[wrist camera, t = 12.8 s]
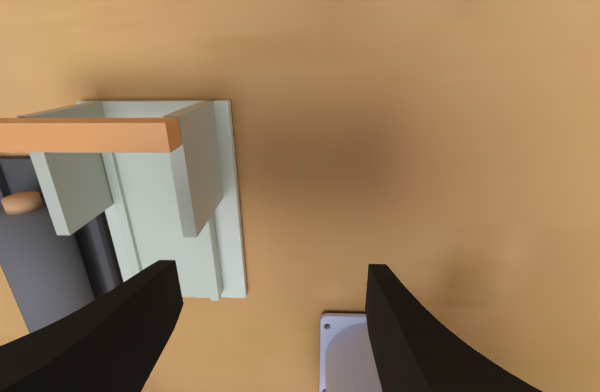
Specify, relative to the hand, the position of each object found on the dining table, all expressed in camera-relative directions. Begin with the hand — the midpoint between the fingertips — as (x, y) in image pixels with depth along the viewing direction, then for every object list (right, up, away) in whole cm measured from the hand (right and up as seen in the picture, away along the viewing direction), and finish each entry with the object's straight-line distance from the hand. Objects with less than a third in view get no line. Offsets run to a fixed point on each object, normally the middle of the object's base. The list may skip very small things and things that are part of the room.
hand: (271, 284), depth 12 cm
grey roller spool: (-16, -2, +10) cm, 18 cm away
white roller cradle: (-7, +3, +10) cm, 13 cm away
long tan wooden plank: (-9, +6, +2) cm, 11 cm away
